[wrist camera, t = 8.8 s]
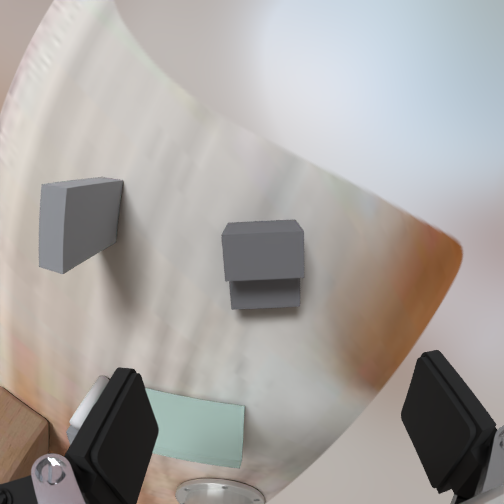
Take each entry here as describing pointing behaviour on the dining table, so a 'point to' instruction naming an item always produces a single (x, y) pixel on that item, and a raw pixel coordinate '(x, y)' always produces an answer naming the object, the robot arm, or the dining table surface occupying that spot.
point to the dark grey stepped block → (264, 263)
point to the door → (186, 426)
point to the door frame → (77, 225)
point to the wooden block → (20, 437)
